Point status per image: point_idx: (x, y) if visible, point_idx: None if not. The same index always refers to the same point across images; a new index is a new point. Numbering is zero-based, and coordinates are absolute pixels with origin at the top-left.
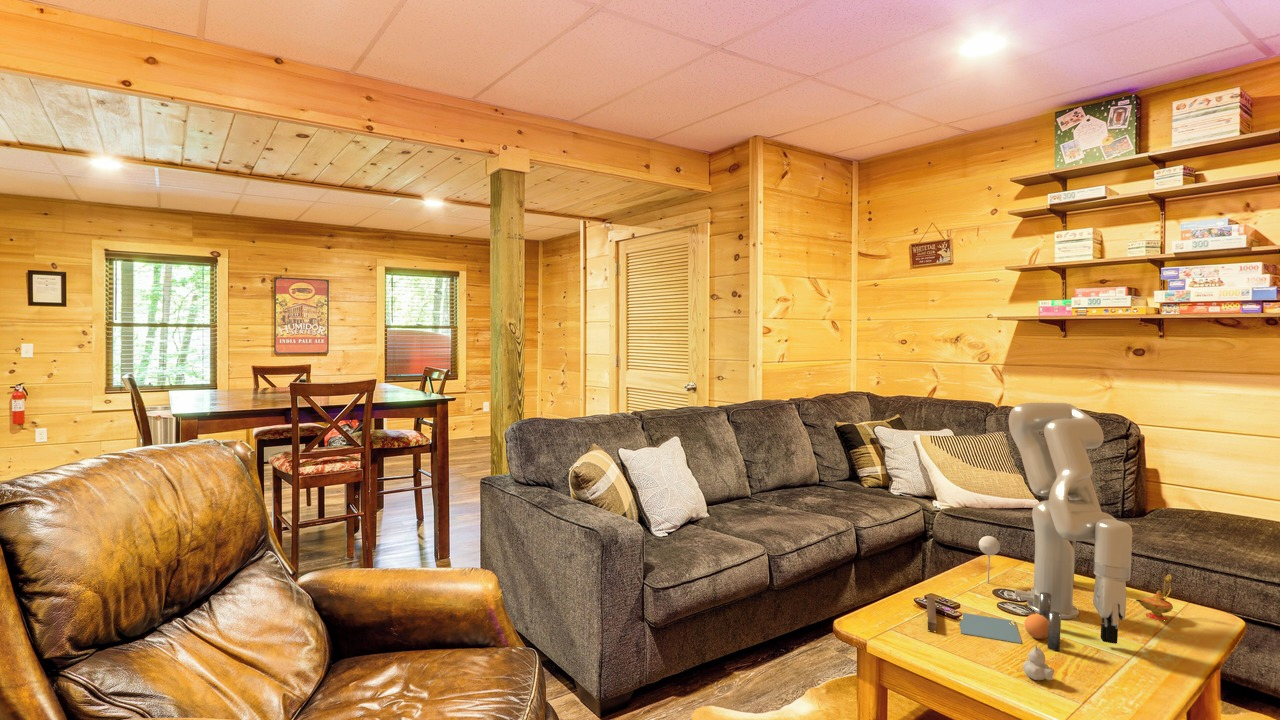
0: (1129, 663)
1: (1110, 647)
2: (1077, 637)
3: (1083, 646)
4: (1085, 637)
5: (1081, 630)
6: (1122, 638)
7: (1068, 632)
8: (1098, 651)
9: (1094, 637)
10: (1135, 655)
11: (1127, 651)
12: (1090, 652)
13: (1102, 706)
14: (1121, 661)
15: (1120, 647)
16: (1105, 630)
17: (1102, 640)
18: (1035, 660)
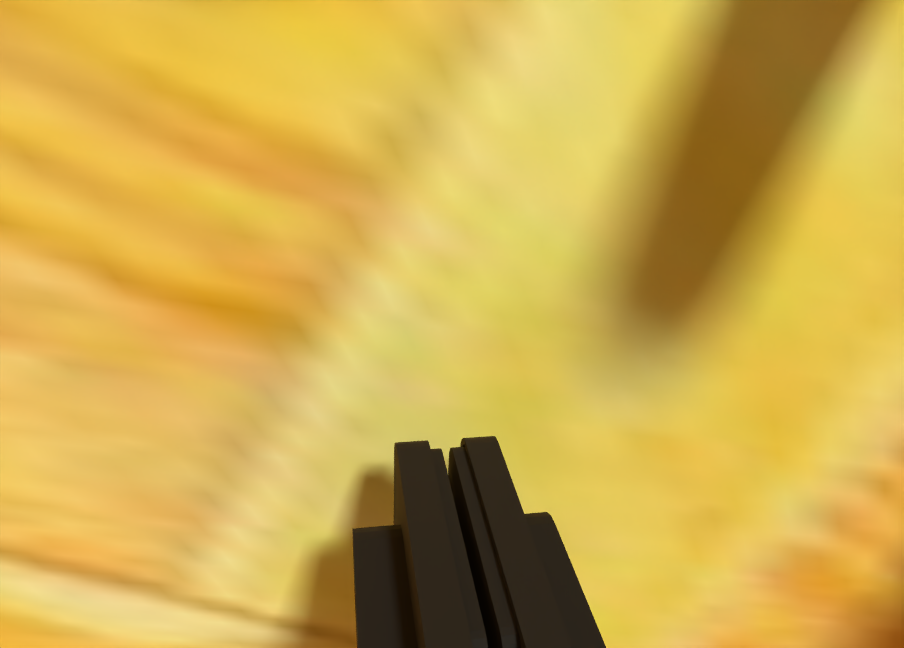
0: (15, 585)
1: None
2: (636, 121)
3: (294, 139)
4: (663, 239)
5: (888, 232)
6: (721, 585)
7: (804, 15)
8: (205, 320)
9: (689, 348)
10: (313, 643)
11: None
12: (84, 200)
13: None
14: (16, 523)
15: None
16: (411, 622)
17: (397, 448)
18: None
